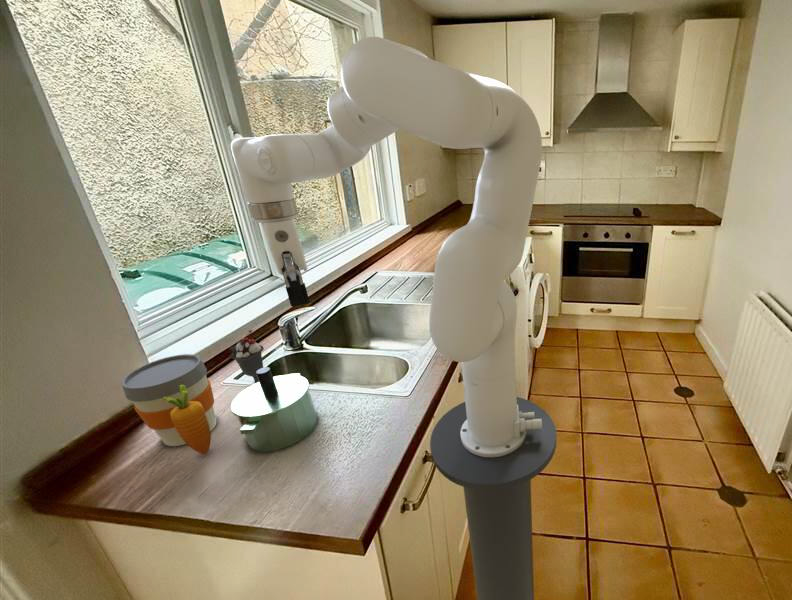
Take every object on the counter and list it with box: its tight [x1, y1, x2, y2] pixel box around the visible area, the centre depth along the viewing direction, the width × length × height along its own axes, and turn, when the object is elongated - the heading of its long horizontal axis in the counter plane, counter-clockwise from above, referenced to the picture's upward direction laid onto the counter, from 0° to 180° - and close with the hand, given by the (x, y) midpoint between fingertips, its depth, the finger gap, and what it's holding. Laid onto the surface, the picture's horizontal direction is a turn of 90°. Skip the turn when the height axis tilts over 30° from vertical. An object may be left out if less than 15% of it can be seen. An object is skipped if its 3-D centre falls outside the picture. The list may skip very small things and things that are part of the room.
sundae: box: [228, 329, 265, 384], centre depth 93 cm, size 7×7×15 cm
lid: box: [230, 366, 310, 418], centre depth 77 cm, size 14×14×7 cm
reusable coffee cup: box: [121, 353, 217, 447], centre depth 79 cm, size 13×13×15 cm
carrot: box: [163, 385, 212, 455], centre depth 73 cm, size 5×5×15 cm
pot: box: [236, 372, 318, 453], centre depth 80 cm, size 13×18×8 cm
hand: (298, 296), depth 78 cm, fingers open, 9 cm apart
